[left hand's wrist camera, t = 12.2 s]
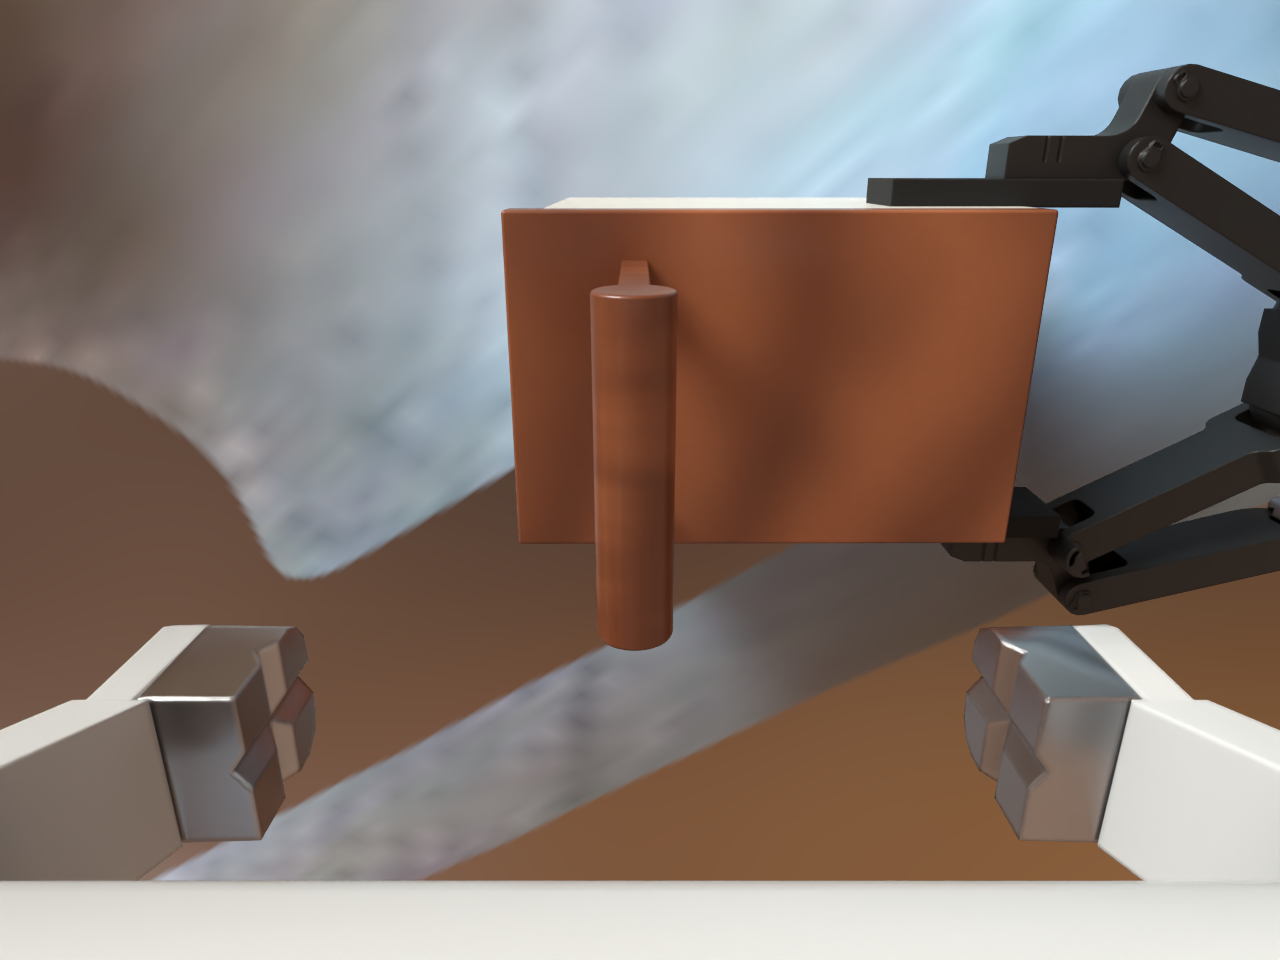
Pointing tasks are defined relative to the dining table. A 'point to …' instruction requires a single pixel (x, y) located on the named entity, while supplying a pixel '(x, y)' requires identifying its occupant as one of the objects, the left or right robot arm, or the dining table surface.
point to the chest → (733, 203)
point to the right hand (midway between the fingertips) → (863, 362)
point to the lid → (765, 381)
